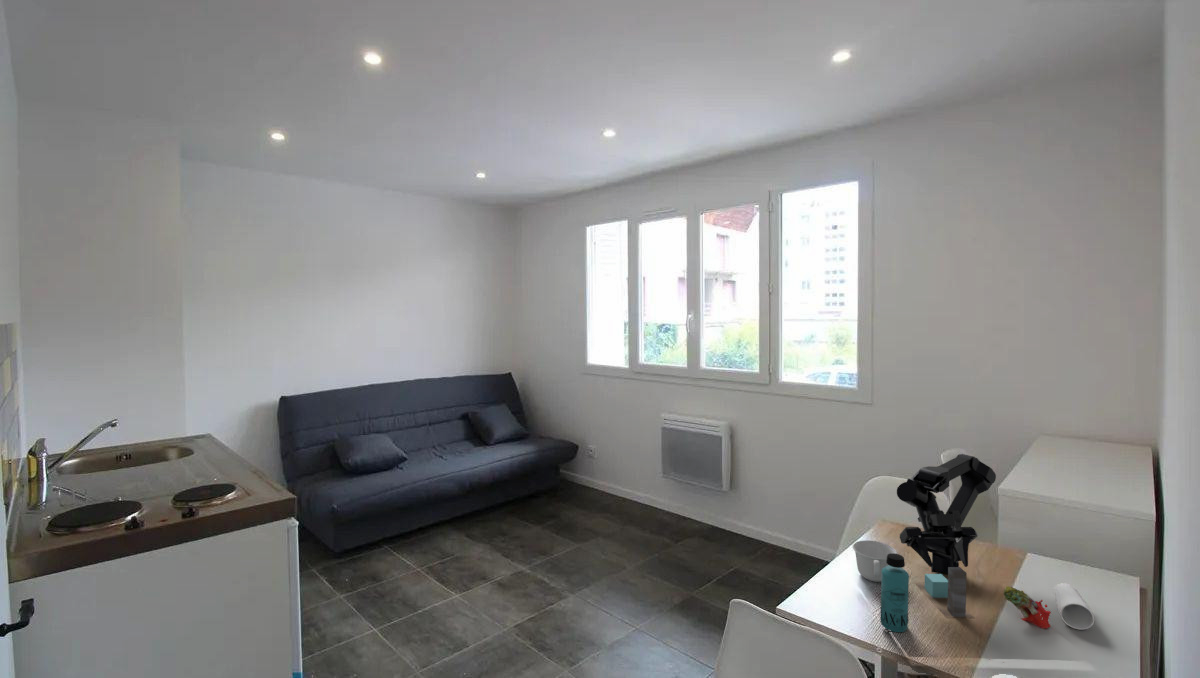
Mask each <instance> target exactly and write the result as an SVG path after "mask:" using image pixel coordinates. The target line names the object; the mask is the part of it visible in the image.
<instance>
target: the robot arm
mask: <svg viewBox="0 0 1200 678" xmlns="http://www.w3.org/2000/svg"><path fill="white" fill-rule="evenodd" d="M958 477H960V481H961V485H960V487H959V488H958V491H957V493H956V495H955V496H954V498H953V500H952V501H951V503H950V505H949V507H948V509H947V510H946V512H944V511H943V510H941V509H940V507H939V505H938V502H937V496H936V495H935V494H938V493H942V492H944V491H945V490H947V489H948V488H949V487H950V482H951V481H953V480H954V479H956V478H958ZM996 479H997V474H996V473H995V471H994V469H992V467H990V466H988V465H987V464H985V463H984V462H982V461H980V459H979V458H977V457H976V456H973V455H968V454H965V453H959V454H957V456H956V457H954V458H952V459H950V460H948V461H946V462H944V463H942V464H940V465H938V466H931V465H930V466H924V467H923V466H922V467H921V468H920V469H918V471H916V473H915V474H914V475H913V476H912V477H911V478H907V480H906V481H905V482H902V483H900V484H899V486H897V489H896V497H897V498H898V499H899V500H900V501H902V502H904V503H906V504H908V505H910V506H912V507H913V508H915V509H916V511H917V515H918V517H917V521H918V522H919V523H921V526H922V528H921V527H919V526H906V527H905V528H904V529H903V530H902V531H901V532H900V533H899V540H900V543H901V544H903V545H906V546H907V547H911V549H912V550H914V552H916V553H917V554H918V555H919V557H920V558H921V559H922V560H923V561H924V562H925V564H927V566H928V567H929V568H930V569H931V573H937V574H942V575H943V576H944V575H946V576H948V567H960V563H959V562H962V565H963V566H964V568H967V567H969V546H970V543H972V542H973V541H974V540H975V539H976V538H978V536H979V535H978V533H977V531H976V529H975V528H973V527H972V526H962V525H963V524H964V521H965V520H966V518H967V516H968V515H969V513H970V510H971V508H972V507H973V505H974V503H975V501H976V499H977V498H978V496H979V495H980V494H982V493H984V492H986V491H988V490H990V488H991V486H992V485H993V484H994V483H995V482H996ZM934 493H935V494H934ZM922 529H923V530H922ZM930 553H931V556H930Z"/></svg>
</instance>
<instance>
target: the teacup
mask: <svg viewBox="0 0 1200 678" xmlns="http://www.w3.org/2000/svg"><path fill="white" fill-rule="evenodd" d="M852 550H853V551H854V552H855V559H856V566H857V571H858V572H859V574H860V576H862V577H863V578H864V579H866V580H868V581H871V582H874V583H881V582H882V572H881V571H882V569H883V568H884V567H886V566H888V564H887V563H886V560H887V555H888V554H890V553H895V554H898V551H897V550H896V549H895V548H894V547H892V546H891V545H890V544H887V543H883V542H880V541H876V540H860V541H856V542H855V543H853V545H852Z"/></svg>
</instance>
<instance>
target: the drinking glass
mask: <svg viewBox="0 0 1200 678" xmlns="http://www.w3.org/2000/svg"><path fill="white" fill-rule="evenodd" d="M1053 595H1054V597H1055V602H1056V607H1057V611H1058V613H1059V615H1060V617H1061V619H1062V621H1063V622H1064V623H1065V624H1066V625H1067V626H1068V627H1070V628H1072V629H1075V630H1080V631H1082V630H1088V629H1090V628H1091V627H1093V626H1094V623H1095V616H1094V613H1093V611H1092V609H1091V608H1090V606H1089V604H1088V603H1087V601H1085V599H1084V598H1083V596H1082V595H1081V594H1080V593H1079V591H1078V590H1077V588H1076V587H1075V586H1073V585H1072V584H1069V583H1065V582H1061V583H1058V584H1056V585H1055V586H1054V588H1053Z"/></svg>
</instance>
